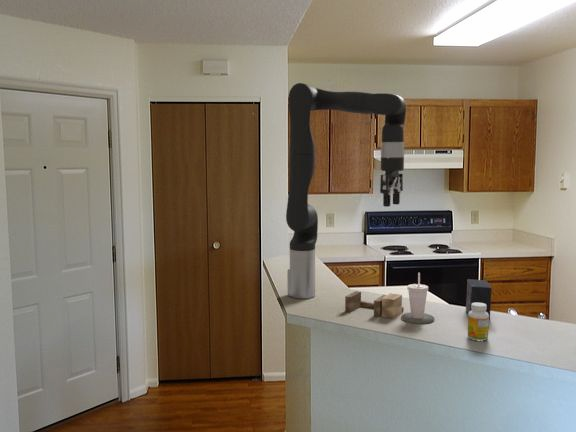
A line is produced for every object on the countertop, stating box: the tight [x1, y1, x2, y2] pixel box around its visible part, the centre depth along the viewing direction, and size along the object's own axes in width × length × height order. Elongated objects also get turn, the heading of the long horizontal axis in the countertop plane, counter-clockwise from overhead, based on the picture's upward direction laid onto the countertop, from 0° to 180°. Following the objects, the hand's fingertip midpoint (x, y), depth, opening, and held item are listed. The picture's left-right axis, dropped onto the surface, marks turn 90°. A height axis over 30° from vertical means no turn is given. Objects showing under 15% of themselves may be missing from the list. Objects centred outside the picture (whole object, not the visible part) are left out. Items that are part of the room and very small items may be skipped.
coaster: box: [401, 312, 435, 325], centre depth 168 cm, size 10×10×1 cm
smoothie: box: [407, 272, 429, 318], centre depth 167 cm, size 6×6×14 cm
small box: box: [465, 278, 492, 321], centre depth 171 cm, size 11×6×10 cm, turn 168°
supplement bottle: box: [467, 302, 490, 341], centre depth 149 cm, size 5×5×10 cm
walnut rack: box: [344, 290, 405, 319], centre depth 175 cm, size 16×9×6 cm, turn 58°
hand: (391, 205), depth 179 cm, fingers open, 8 cm apart
